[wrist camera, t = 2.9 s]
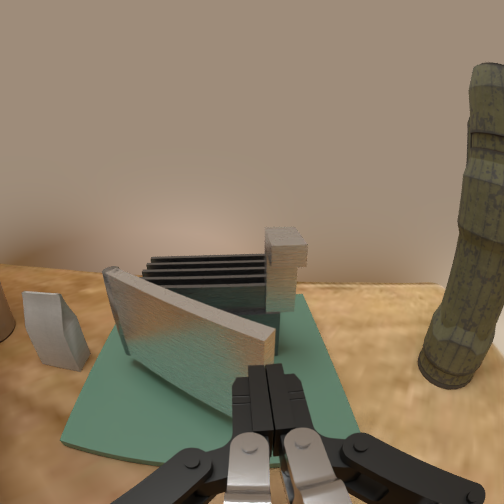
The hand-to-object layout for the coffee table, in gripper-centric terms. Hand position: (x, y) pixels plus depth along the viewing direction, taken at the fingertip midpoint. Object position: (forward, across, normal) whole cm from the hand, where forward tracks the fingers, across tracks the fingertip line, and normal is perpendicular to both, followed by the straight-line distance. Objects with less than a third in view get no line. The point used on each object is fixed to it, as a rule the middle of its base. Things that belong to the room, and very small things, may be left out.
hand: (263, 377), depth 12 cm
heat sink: (+16, +5, +14) cm, 21 cm away
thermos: (+10, -25, +14) cm, 30 cm away
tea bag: (+14, +24, +14) cm, 32 cm away
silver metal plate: (+10, +7, +11) cm, 16 cm away
